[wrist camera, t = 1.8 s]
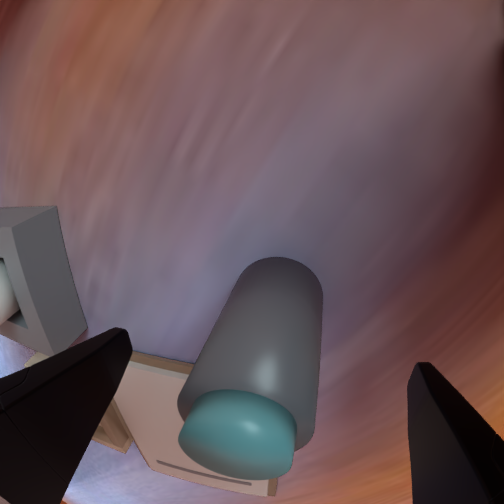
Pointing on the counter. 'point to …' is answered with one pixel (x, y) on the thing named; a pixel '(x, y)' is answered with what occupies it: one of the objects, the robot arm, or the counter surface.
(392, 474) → the counter surface
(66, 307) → the button housing
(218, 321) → the marker
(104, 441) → the holder tray
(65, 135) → the counter surface
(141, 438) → the white flat rectangular panel
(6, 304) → the button
